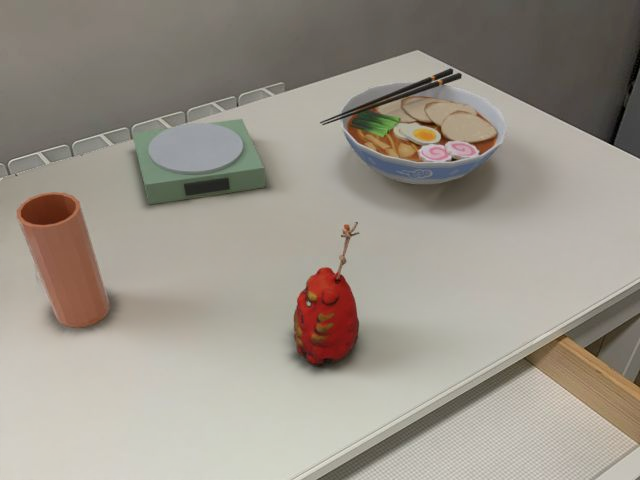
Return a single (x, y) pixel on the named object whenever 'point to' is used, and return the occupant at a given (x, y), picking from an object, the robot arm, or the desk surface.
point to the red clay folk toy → (327, 314)
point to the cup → (64, 258)
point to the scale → (198, 161)
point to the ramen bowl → (422, 129)
